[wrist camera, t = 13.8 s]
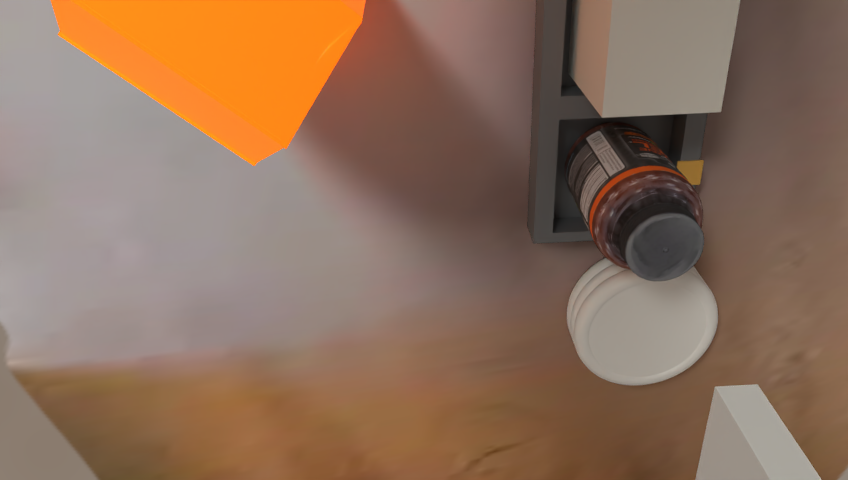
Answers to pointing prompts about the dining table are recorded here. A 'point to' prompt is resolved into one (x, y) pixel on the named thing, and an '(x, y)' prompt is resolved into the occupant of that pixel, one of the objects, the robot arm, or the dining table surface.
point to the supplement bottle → (635, 202)
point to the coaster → (640, 323)
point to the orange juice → (220, 59)
